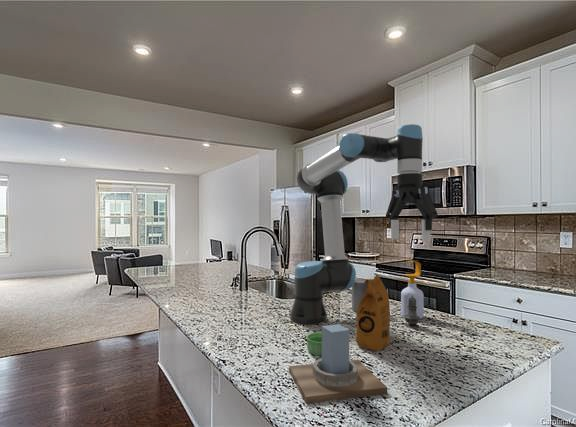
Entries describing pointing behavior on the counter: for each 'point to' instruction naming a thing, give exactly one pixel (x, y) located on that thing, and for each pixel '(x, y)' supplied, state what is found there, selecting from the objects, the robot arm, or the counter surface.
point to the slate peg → (335, 349)
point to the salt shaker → (412, 314)
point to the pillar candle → (358, 292)
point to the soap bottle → (413, 293)
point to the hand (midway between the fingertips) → (409, 240)
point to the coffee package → (373, 317)
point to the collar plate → (334, 392)
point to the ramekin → (314, 343)
